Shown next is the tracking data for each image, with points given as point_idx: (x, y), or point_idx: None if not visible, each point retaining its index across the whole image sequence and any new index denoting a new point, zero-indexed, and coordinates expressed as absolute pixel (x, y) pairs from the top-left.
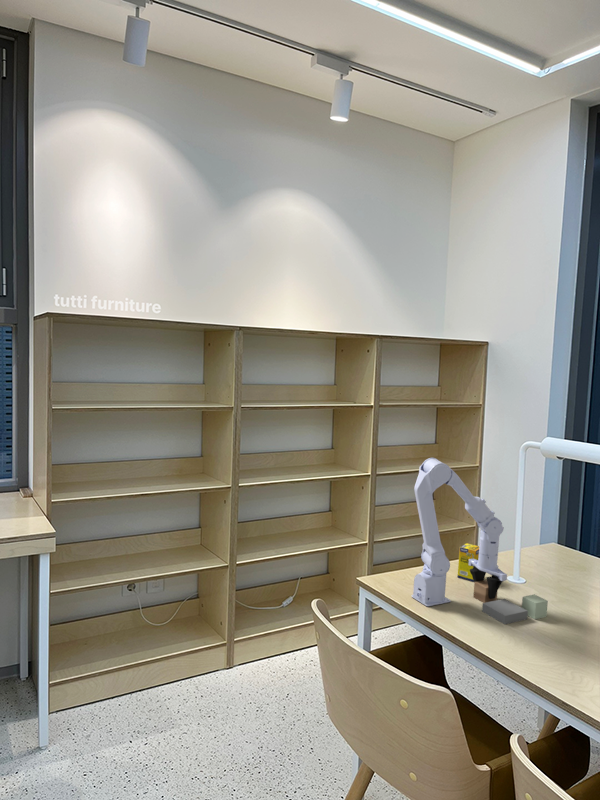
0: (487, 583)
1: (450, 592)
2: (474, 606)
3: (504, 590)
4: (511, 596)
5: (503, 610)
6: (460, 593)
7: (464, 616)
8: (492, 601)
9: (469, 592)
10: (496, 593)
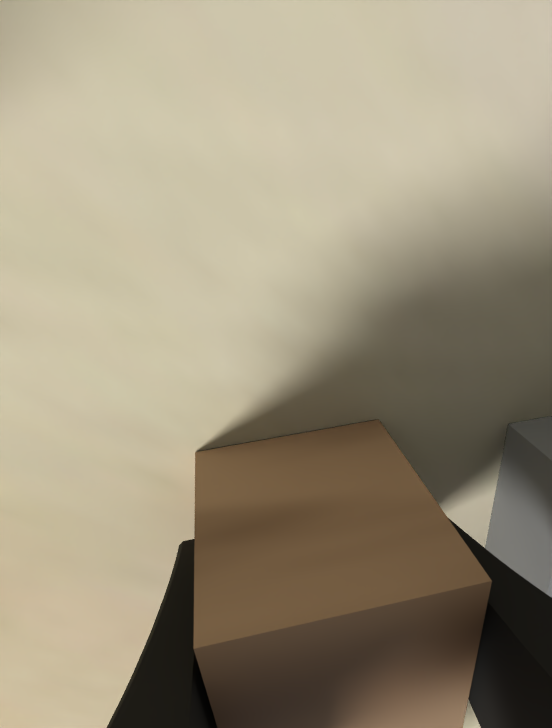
0: (347, 678)
1: (78, 698)
2: None
3: (76, 28)
4: (338, 111)
5: None
6: (113, 641)
7: (467, 712)
8: None
9: (98, 568)
10: (422, 494)
